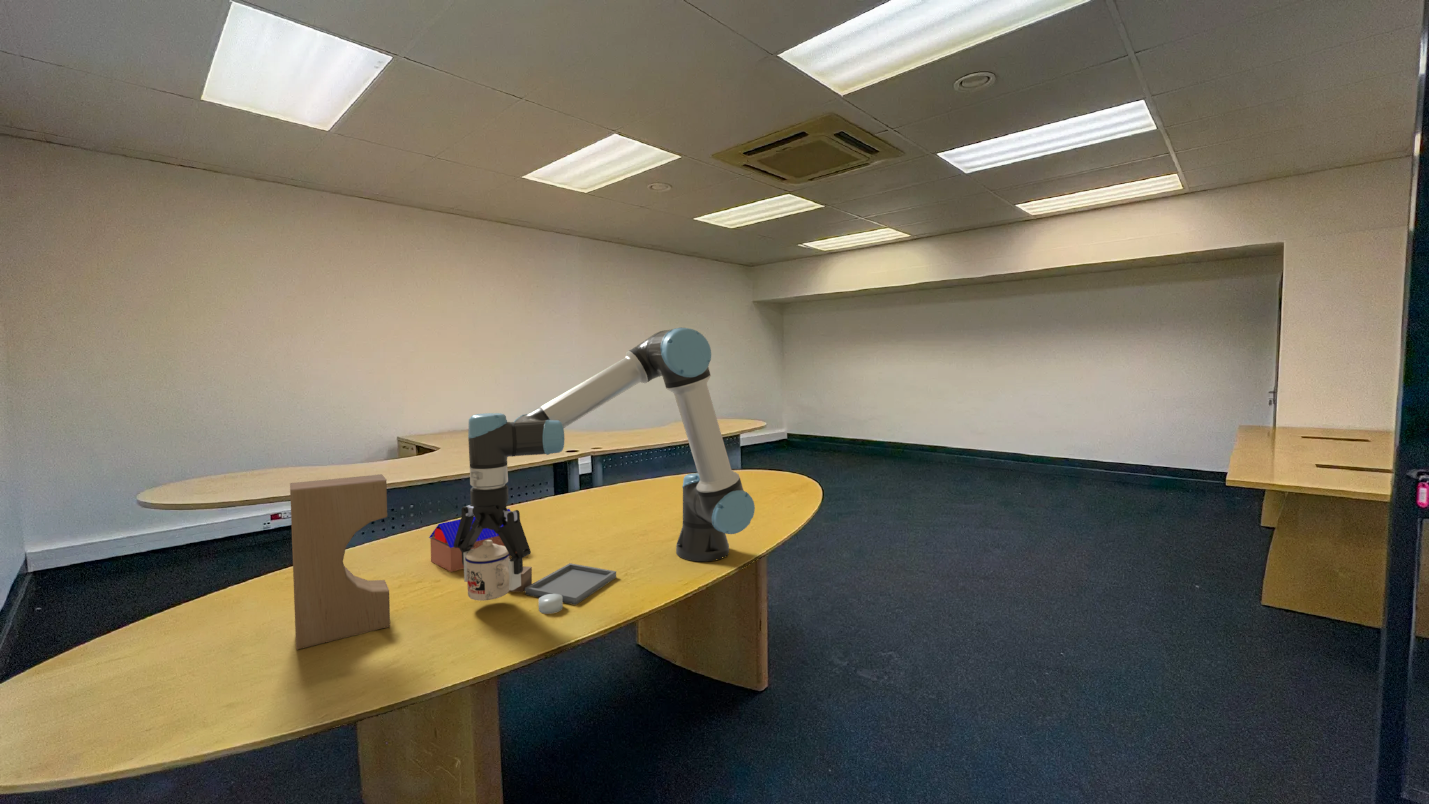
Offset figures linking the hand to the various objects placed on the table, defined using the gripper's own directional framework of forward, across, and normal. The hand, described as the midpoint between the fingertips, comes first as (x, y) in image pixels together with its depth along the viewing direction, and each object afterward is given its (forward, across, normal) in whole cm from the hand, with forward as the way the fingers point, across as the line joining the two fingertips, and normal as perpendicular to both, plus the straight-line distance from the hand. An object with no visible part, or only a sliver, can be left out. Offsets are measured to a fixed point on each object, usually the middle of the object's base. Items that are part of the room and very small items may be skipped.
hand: (492, 583), depth 117 cm
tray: (+6, +9, +17) cm, 20 cm away
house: (+6, -27, +23) cm, 36 cm away
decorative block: (+5, -19, -19) cm, 28 cm away
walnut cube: (+6, -2, +11) cm, 12 cm away
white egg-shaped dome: (+6, +12, +5) cm, 14 cm away
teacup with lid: (+3, 0, 0) cm, 3 cm away
